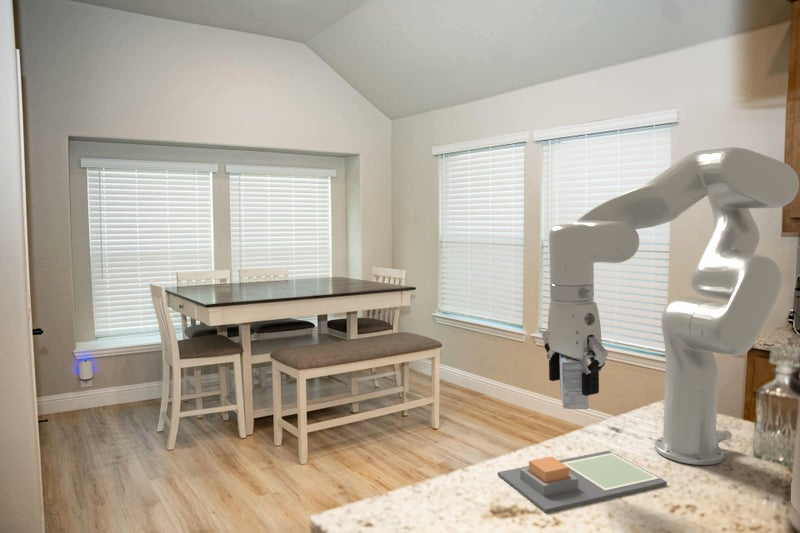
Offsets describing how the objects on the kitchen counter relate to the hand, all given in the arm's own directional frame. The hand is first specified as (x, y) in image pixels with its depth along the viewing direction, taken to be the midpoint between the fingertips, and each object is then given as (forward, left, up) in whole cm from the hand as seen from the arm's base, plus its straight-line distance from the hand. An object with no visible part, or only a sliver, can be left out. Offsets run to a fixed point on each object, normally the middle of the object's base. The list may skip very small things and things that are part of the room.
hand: (573, 386), depth 107 cm
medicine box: (0, 0, -3) cm, 3 cm away
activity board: (-1, +1, -17) cm, 17 cm away
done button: (+6, +1, -16) cm, 17 cm away
